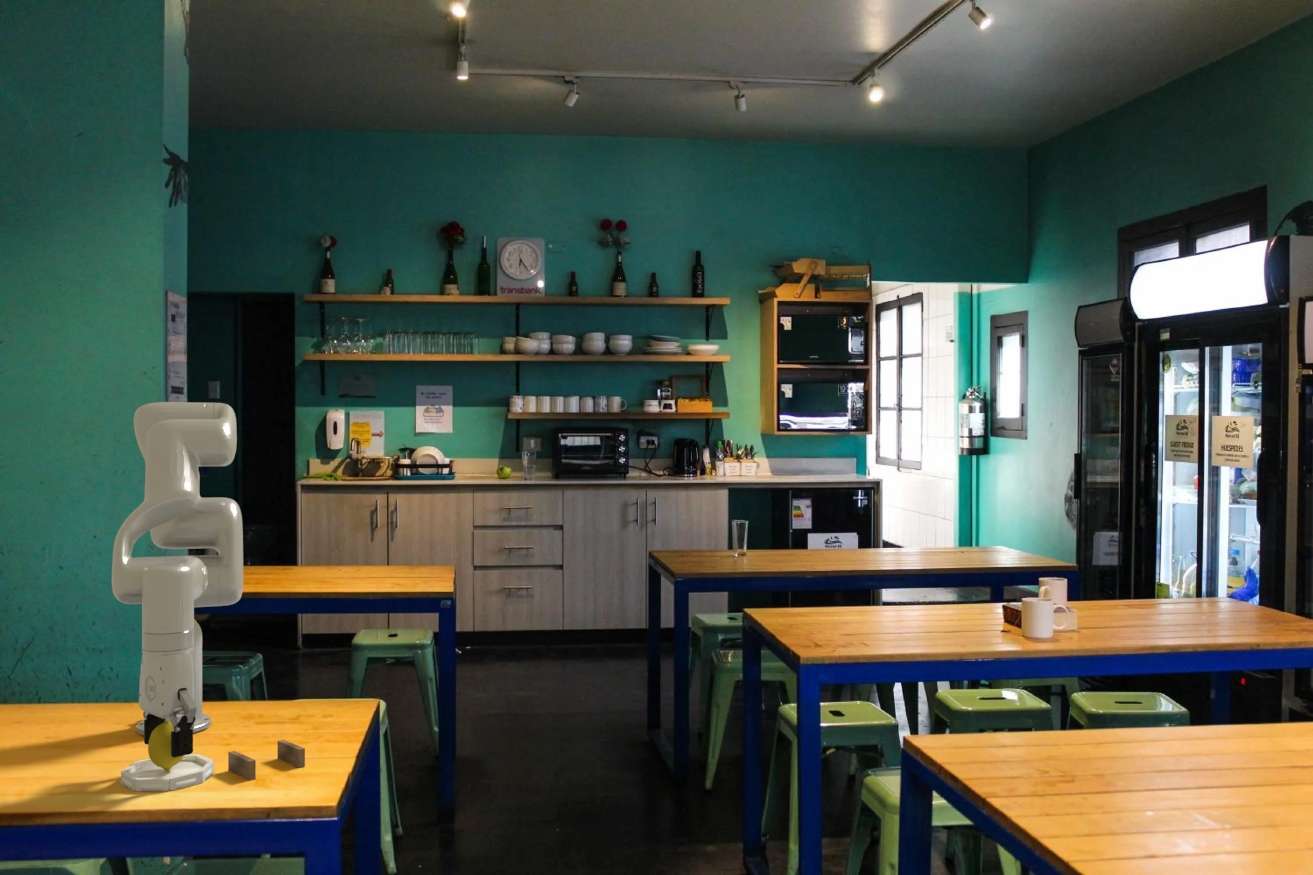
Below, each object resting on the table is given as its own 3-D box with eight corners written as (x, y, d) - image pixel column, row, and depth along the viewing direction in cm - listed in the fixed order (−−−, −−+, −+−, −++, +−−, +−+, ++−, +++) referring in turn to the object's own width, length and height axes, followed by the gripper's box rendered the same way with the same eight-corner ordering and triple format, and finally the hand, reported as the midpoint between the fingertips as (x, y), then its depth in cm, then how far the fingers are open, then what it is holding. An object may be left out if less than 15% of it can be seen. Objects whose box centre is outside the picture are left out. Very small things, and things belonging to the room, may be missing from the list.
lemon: (172, 777, 171) (171, 726, 171) (140, 775, 172) (140, 724, 172) (193, 766, 177) (193, 716, 177) (163, 764, 178) (162, 715, 178)
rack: (228, 770, 178) (228, 752, 178) (283, 757, 185) (283, 739, 185) (249, 780, 173) (249, 761, 173) (304, 766, 180) (304, 748, 180)
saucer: (109, 778, 174) (108, 766, 174) (189, 759, 184) (190, 748, 184) (143, 797, 165) (143, 785, 165) (227, 777, 175) (227, 765, 175)
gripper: (121, 637, 177) (121, 742, 177) (168, 653, 165) (168, 765, 166) (167, 630, 183) (167, 733, 183) (216, 645, 171) (216, 754, 171)
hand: (168, 748), depth 174 cm, fingers open, 9 cm apart
